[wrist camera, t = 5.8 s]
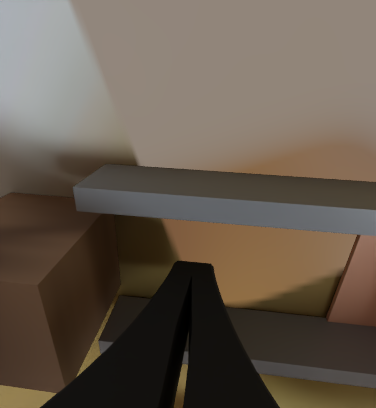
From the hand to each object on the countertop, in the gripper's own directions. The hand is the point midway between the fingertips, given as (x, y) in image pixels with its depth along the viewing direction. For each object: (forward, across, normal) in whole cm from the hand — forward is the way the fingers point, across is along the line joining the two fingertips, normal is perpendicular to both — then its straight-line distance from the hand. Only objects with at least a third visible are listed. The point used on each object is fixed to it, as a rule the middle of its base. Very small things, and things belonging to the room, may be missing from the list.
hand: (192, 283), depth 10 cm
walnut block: (+2, +6, 0) cm, 6 cm away
